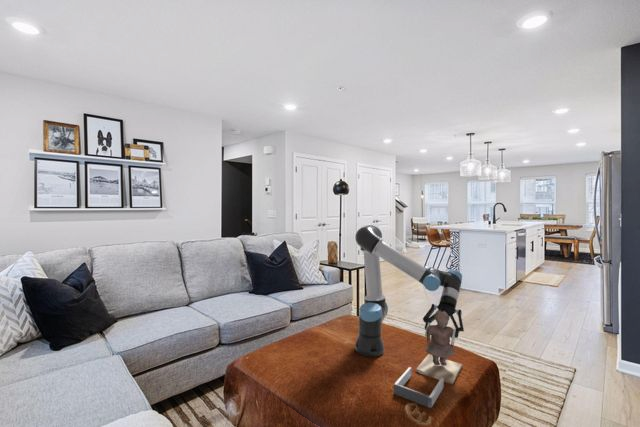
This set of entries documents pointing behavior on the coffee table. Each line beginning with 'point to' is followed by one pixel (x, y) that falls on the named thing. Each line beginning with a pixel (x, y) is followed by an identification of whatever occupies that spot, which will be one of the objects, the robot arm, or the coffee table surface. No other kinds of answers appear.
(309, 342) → the coffee table surface
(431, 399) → the grey channel
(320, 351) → the coffee table surface
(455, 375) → the cream square slab
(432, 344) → the clay figurine
